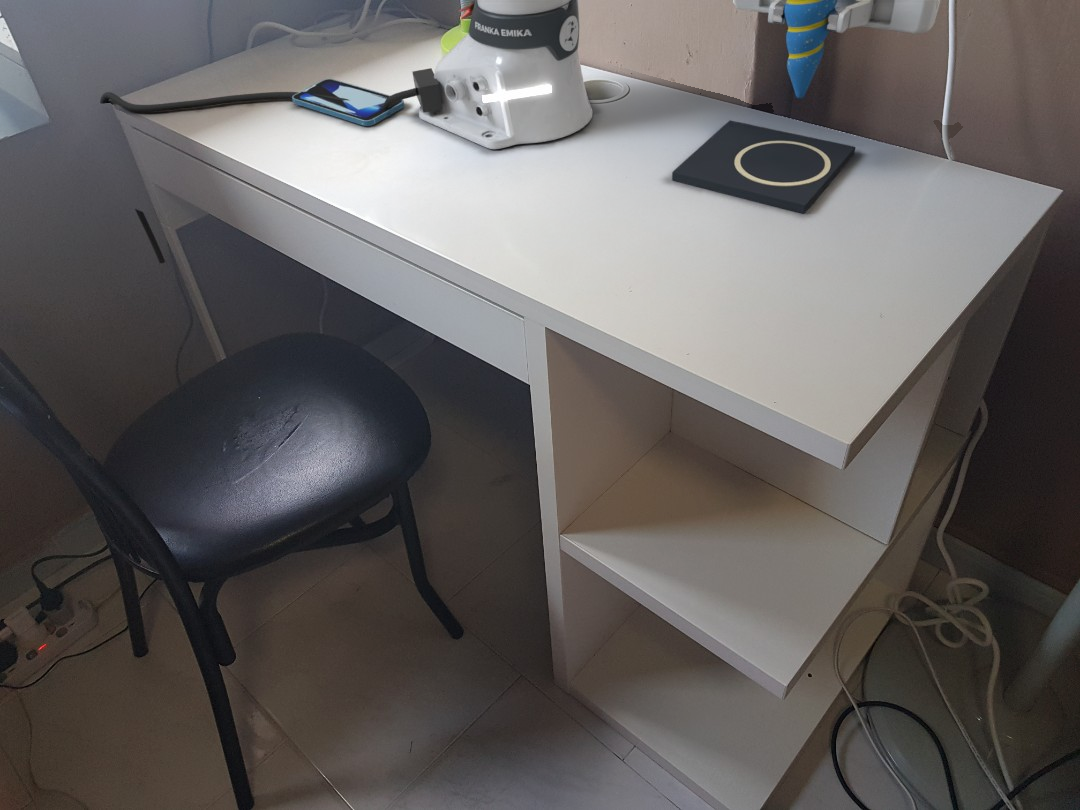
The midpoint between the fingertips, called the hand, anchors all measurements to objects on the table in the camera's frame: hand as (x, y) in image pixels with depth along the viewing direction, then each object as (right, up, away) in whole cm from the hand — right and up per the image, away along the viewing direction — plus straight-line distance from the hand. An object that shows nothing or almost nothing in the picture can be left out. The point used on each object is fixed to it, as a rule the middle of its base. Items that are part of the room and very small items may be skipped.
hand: (804, 19), depth 80 cm
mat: (-1, -11, +12) cm, 16 cm away
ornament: (+1, -5, +6) cm, 8 cm away
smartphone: (-51, +3, +32) cm, 60 cm away
